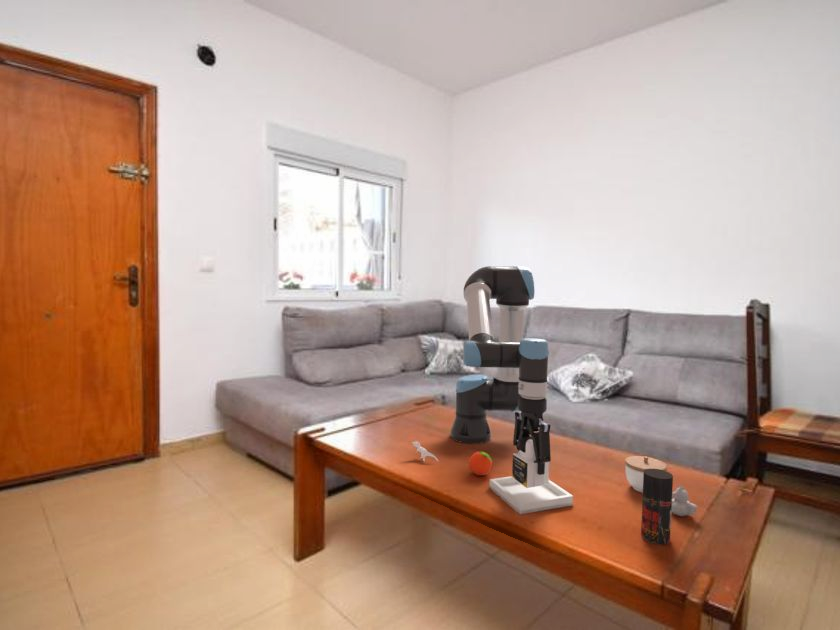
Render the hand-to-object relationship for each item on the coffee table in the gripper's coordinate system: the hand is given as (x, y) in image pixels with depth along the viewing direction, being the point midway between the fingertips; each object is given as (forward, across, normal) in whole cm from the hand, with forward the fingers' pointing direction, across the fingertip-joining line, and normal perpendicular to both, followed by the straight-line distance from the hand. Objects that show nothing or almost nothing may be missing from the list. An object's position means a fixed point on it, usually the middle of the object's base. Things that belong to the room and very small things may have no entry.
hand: (530, 479), depth 125 cm
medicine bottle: (+1, 0, 0) cm, 1 cm away
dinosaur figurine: (+5, -34, -19) cm, 39 cm away
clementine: (+5, -17, -6) cm, 19 cm away
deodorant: (+5, +27, +16) cm, 32 cm away
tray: (+5, 0, 0) cm, 5 cm away
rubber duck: (+5, +21, +31) cm, 38 cm away
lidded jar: (+5, +6, +34) cm, 35 cm away
